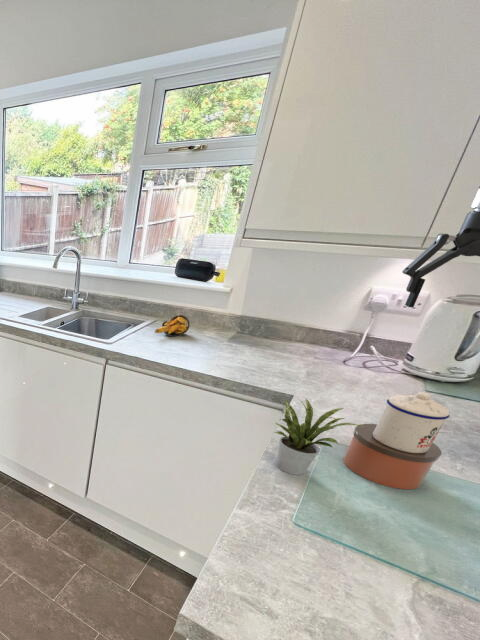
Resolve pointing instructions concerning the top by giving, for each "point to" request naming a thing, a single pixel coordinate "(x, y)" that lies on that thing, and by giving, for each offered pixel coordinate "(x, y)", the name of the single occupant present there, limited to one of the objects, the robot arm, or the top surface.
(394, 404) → the teacup with lid
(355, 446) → the storage jar
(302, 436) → the house plant
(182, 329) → the fried shrimp in bowl
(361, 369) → the top surface
